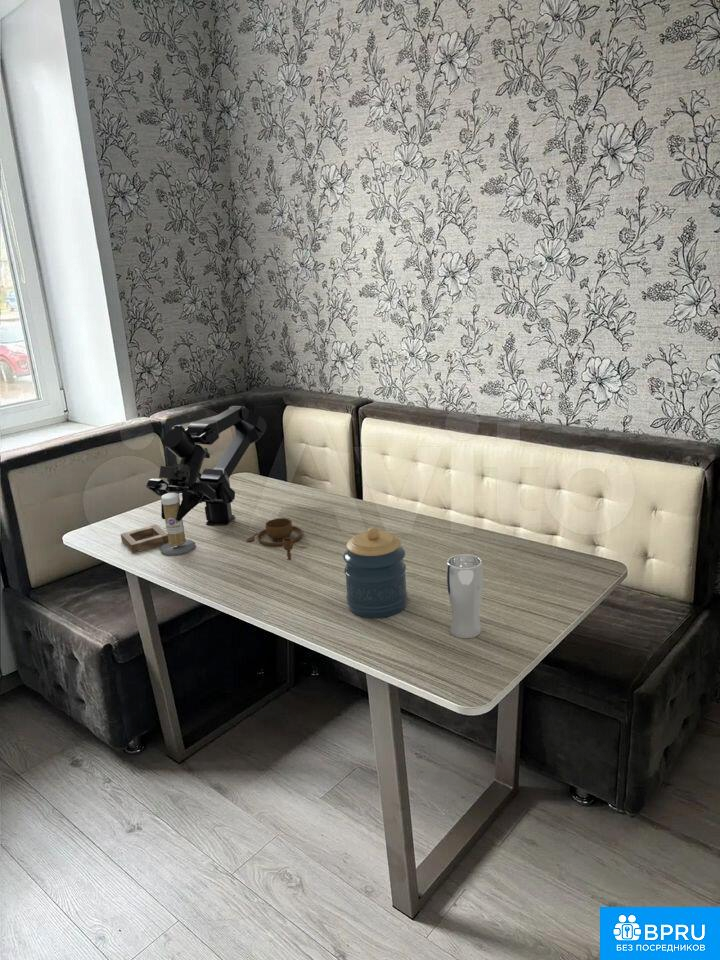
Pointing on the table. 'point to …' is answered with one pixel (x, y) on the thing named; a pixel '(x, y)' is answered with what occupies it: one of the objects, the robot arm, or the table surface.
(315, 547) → the table surface
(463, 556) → the beer glass
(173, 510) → the sprinkles bottle
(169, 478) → the robot arm
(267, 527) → the place setting
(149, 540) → the square wooden frame
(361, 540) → the canister
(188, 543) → the coaster
